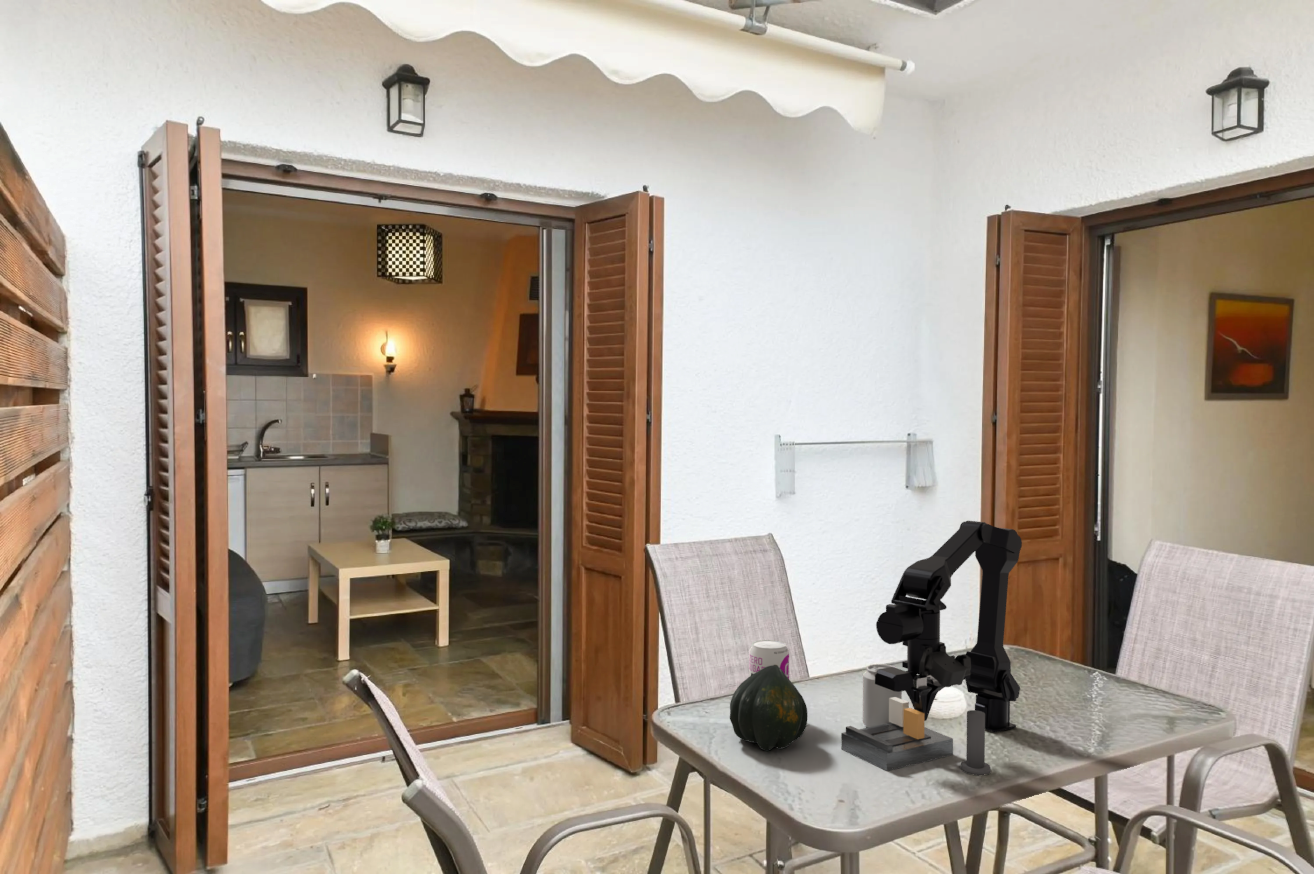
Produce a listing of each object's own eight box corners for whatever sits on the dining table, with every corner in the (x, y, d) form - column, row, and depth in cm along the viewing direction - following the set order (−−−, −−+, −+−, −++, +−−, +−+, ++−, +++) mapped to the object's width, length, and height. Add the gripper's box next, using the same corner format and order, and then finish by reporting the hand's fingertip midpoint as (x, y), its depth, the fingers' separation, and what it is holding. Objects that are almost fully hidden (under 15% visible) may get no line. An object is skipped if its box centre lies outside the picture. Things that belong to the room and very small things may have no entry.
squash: (729, 730, 163) (781, 664, 165) (705, 708, 177) (754, 647, 180) (786, 778, 165) (836, 712, 168) (757, 752, 180) (804, 692, 182)
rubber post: (974, 762, 162) (974, 706, 162) (996, 771, 158) (997, 714, 158) (954, 767, 160) (954, 711, 160) (976, 777, 156) (977, 719, 155)
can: (902, 734, 177) (903, 673, 176) (862, 732, 178) (863, 671, 178) (900, 722, 184) (900, 663, 184) (862, 719, 185) (862, 661, 185)
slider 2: (909, 731, 168) (910, 707, 168) (924, 737, 165) (924, 713, 165) (903, 733, 167) (903, 708, 167) (917, 739, 164) (917, 714, 164)
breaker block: (905, 734, 177) (905, 713, 177) (952, 754, 166) (953, 731, 166) (841, 748, 169) (841, 726, 169) (886, 770, 158) (886, 746, 158)
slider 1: (895, 720, 175) (895, 696, 174) (908, 725, 171) (908, 701, 171) (888, 721, 174) (889, 697, 174) (902, 727, 171) (902, 703, 171)
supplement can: (793, 713, 189) (794, 641, 189) (781, 725, 182) (782, 650, 182) (756, 708, 193) (756, 637, 192) (743, 719, 185) (743, 646, 185)
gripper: (918, 651, 155) (917, 742, 155) (994, 639, 164) (993, 725, 164) (873, 637, 165) (872, 723, 165) (947, 627, 174) (946, 708, 174)
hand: (922, 720), depth 167 cm, fingers closed
